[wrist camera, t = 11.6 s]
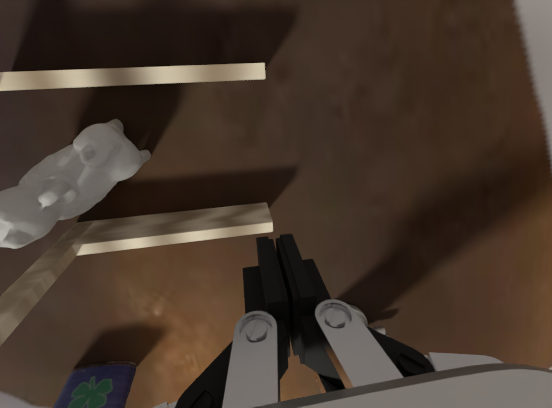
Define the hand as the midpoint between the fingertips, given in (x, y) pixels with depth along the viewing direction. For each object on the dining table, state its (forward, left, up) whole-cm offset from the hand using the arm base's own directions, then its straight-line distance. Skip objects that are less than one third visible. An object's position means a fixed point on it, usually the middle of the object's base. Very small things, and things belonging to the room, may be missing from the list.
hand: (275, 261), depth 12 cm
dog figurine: (+16, 0, -20) cm, 25 cm away
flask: (+25, +32, -20) cm, 46 cm away
